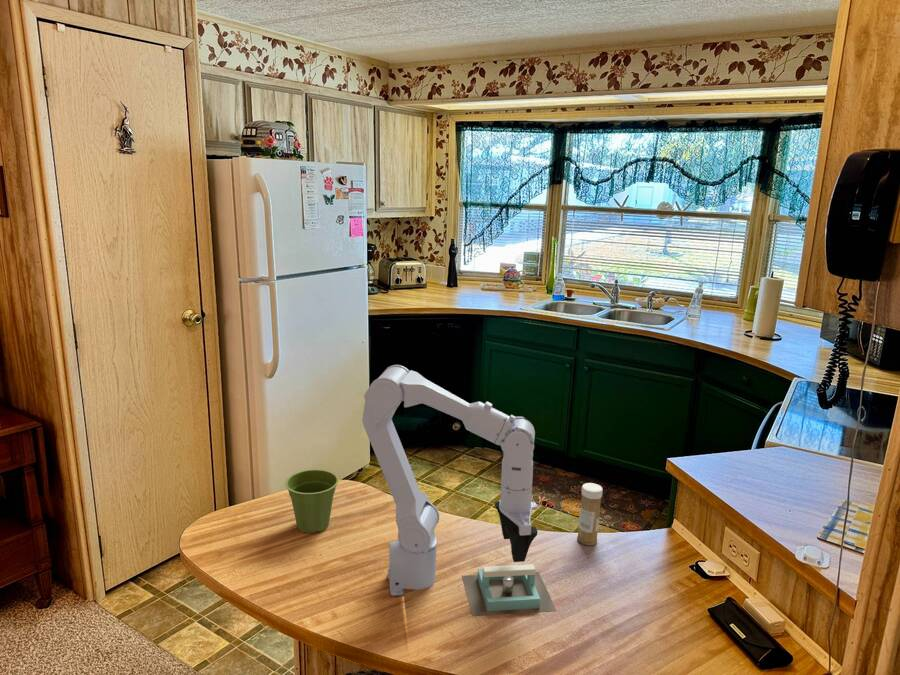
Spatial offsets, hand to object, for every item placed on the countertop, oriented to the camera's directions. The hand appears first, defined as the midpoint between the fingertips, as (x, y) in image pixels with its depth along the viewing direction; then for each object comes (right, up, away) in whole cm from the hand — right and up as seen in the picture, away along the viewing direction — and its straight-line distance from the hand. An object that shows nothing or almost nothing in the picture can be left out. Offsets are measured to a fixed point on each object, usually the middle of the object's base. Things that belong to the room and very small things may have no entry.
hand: (513, 549), depth 117 cm
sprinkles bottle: (+19, -6, +23) cm, 31 cm away
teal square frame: (-1, -9, +2) cm, 9 cm away
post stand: (-1, -10, +2) cm, 10 cm away
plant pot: (-44, -3, +24) cm, 50 cm away
